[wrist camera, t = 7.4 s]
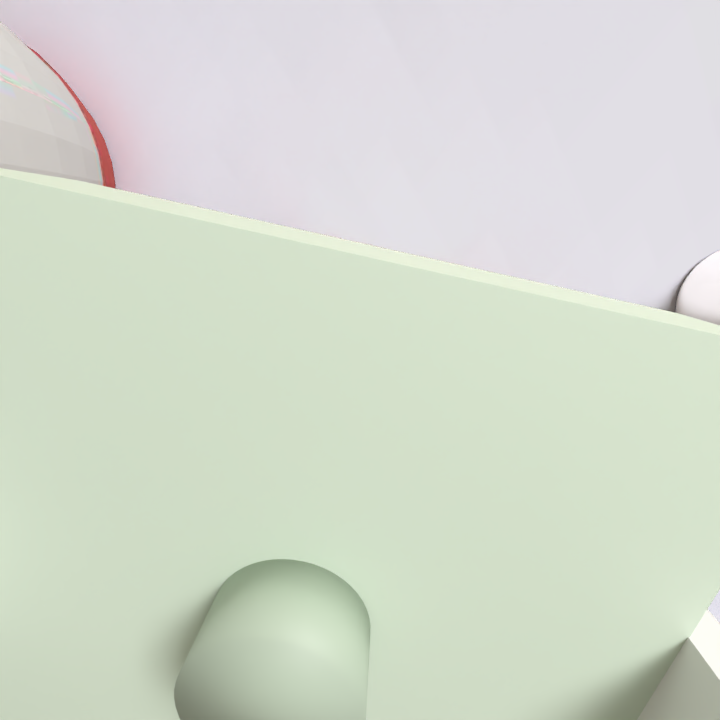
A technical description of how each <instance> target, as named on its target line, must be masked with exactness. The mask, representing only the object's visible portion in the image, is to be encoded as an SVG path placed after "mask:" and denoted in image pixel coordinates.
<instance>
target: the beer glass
mask: <svg viewBox="0 0 720 720" xmlns="http://www.w3.org/2000/svg"><path fill="white" fill-rule="evenodd" d="M676 313H679V314H682V315H686V316H689V317H692V318H696V319H699V320H703V321H706V322H710V323H713V324H716V325H720V250H719V251H717V252H715V253H713V254H711V255H710V256H708V257H707V258H705V259H704V260H702V261H701V262H700V263H699V264H698V265H697V266H696V267H695V268H694V269H693V270H692V271H691V272H690V273H689V275H688V276H687V277H686V279H685V281H684V282H683V284H682V286H681V288H680V291H679V293H678V297H677V301H676Z"/></svg>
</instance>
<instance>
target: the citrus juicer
mask: <svg viewBox="0 0 720 720" xmlns="http://www.w3.org/2000/svg"><path fill="white" fill-rule="evenodd" d="M0 168H3V169H9V170H16V171H22V172H28V173H35V174H41V175H47V176H54V177H60V178H67V179H73V180H79V181H83V182H88V183H92V184H97V185H102V186H106V187H111V188H115V180H114V174H113V167H112V162H111V159H110V156H109V153H108V150H107V146H106V143H105V140H104V138H103V137H102V135H101V133H100V131H99V129H98V127H97V125H96V123H95V121H94V119H93V118H92V116H91V115H90V114H89V112H88V111H87V110H86V108H85V107H84V105H83V104H82V103H81V101H80V100H79V99H78V97H77V96H76V95H75V93H74V92H73V91H72V89H71V88H70V87H69V86H68V84H67V83H66V82H65V81H64V80H63V78H62V77H61V76H60V75H59V74H58V73H57V72H56V71H55V70H54V69H53V68H52V67H51V66H50V65H49V64H48V63H47V62H46V61H45V60H44V59H43V58H42V57H41V56H40V55H39V54H38V53H36V52H35V51H34V50H32V49H31V48H29V47H28V46H26V45H25V44H24V43H23V42H22V41H21V40H20V39H19V38H18V37H17V36H16V35H15V34H14V33H12V32H11V31H10V30H9V29H8V28H7V27H6V26H5V25H4V24H3V23H1V22H0Z"/></svg>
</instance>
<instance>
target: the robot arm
mask: <svg viewBox="0 0 720 720" xmlns="http://www.w3.org/2000/svg"><path fill="white" fill-rule="evenodd" d="M637 720H720V623H719V622H718V621H717V620H716V619H715V617H714V616H713V615H712V614H711V613H710V611H709V610H708V609H707V610H706V612H705V614H704V615H703V617H702V619H701V620H700V622H699V623H698V625H697V627H696V628H695V630H694V631H693V633H692V635H691V636H690V637H688V638H687V640H686V641H685V643H684V645H683V646H682V648H681V649H680V651H679V653H678V654H677V656H676V658H675V659H674V661H673V662H672V664H671V666H670V667H669V669H668V670H667V672H666V674H665V675H664V677H663V678H662V680H661V682H660V683H659V685H658V687H657V688H656V690H655V691H654V693H653V695H652V696H651V698H650V699H649V701H648V703H647V704H646V706H645V708H644V709H643V711H642V712H641V714H640V716H639V717H638V719H637Z"/></svg>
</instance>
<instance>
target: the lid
mask: <svg viewBox="0 0 720 720" xmlns="http://www.w3.org/2000/svg"><path fill="white" fill-rule="evenodd" d="M719 590H720V325H716V324H713V323H710V322H706V321H703V320H699V319H696V318H692V317H689V316H686V315H682V314H679V313H674V312H670V311H665V310H661V309H656V308H652V307H647V306H643V305H638V304H634V303H629V302H625V301H620V300H616V299H611V298H607V297H602V296H598V295H593V294H589V293H584V292H580V291H575V290H571V289H566V288H562V287H557V286H553V285H548V284H544V283H539V282H535V281H530V280H526V279H521V278H516V277H512V276H507V275H503V274H498V273H494V272H489V271H485V270H480V269H476V268H471V267H467V266H462V265H458V264H453V263H449V262H444V261H440V260H435V259H431V258H426V257H422V256H417V255H413V254H408V253H404V252H399V251H395V250H390V249H386V248H381V247H377V246H372V245H368V244H363V243H359V242H354V241H350V240H345V239H341V238H336V237H332V236H327V235H323V234H318V233H314V232H309V231H304V230H300V229H295V228H291V227H286V226H282V225H277V224H273V223H268V222H264V221H259V220H255V219H250V218H246V217H241V216H237V215H232V214H228V213H223V212H219V211H214V210H210V209H205V208H201V207H196V206H192V205H187V204H183V203H178V202H174V201H169V200H165V199H160V198H156V197H151V196H147V195H142V194H138V193H133V192H129V191H124V190H120V189H115V188H111V187H106V186H102V185H97V184H92V183H88V182H83V181H79V180H73V179H67V178H60V177H54V176H47V175H41V174H35V173H28V172H22V171H16V170H9V169H3V168H0V720H637V719H638V717H639V716H640V714H641V712H642V711H643V709H644V708H645V706H646V704H647V703H648V701H649V699H650V698H651V696H652V695H653V693H654V691H655V690H656V688H657V687H658V685H659V683H660V682H661V680H662V678H663V677H664V675H665V674H666V672H667V670H668V669H669V667H670V666H671V664H672V662H673V661H674V659H675V658H676V656H677V654H678V653H679V651H680V649H681V648H682V646H683V645H684V643H685V641H686V640H687V638H688V637H690V636H691V635H692V633H693V631H694V630H695V628H696V627H697V625H698V623H699V622H700V620H701V619H702V617H703V615H704V614H705V612H706V610H707V609H708V607H709V606H710V604H711V602H712V601H713V599H714V598H715V596H716V594H717V593H718V591H719Z"/></svg>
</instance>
